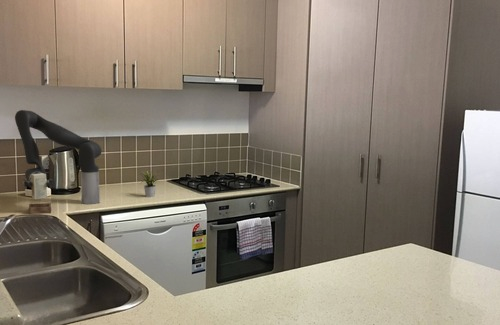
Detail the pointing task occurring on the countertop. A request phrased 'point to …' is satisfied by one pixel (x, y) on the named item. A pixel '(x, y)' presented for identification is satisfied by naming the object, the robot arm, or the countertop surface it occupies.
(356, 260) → the countertop surface
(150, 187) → the house plant
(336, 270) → the countertop surface
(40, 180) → the skincare box
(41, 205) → the jig block
